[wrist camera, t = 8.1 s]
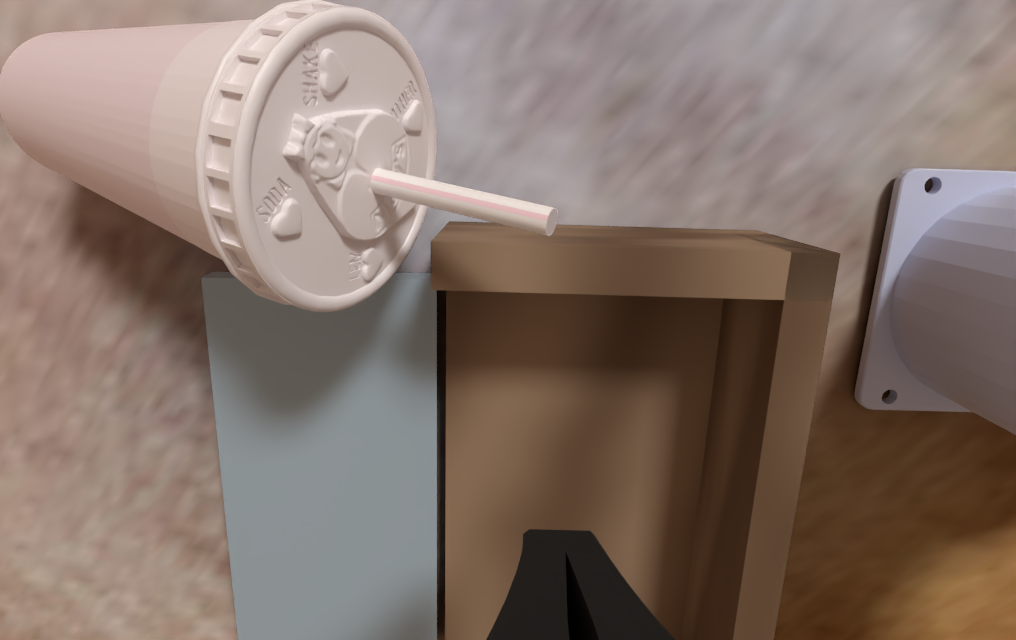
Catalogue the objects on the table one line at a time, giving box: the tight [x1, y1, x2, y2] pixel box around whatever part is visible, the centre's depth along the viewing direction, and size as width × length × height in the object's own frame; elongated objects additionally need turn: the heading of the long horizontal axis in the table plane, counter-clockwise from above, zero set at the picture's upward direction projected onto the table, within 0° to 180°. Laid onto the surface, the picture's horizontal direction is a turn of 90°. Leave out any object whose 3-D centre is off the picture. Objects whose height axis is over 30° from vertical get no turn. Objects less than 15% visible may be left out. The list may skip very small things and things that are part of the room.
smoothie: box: [0, 0, 558, 312], centre depth 14 cm, size 6×6×14 cm
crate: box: [431, 222, 840, 640], centre depth 19 cm, size 10×18×5 cm, turn 178°
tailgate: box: [201, 272, 437, 640], centre depth 21 cm, size 1×14×7 cm
